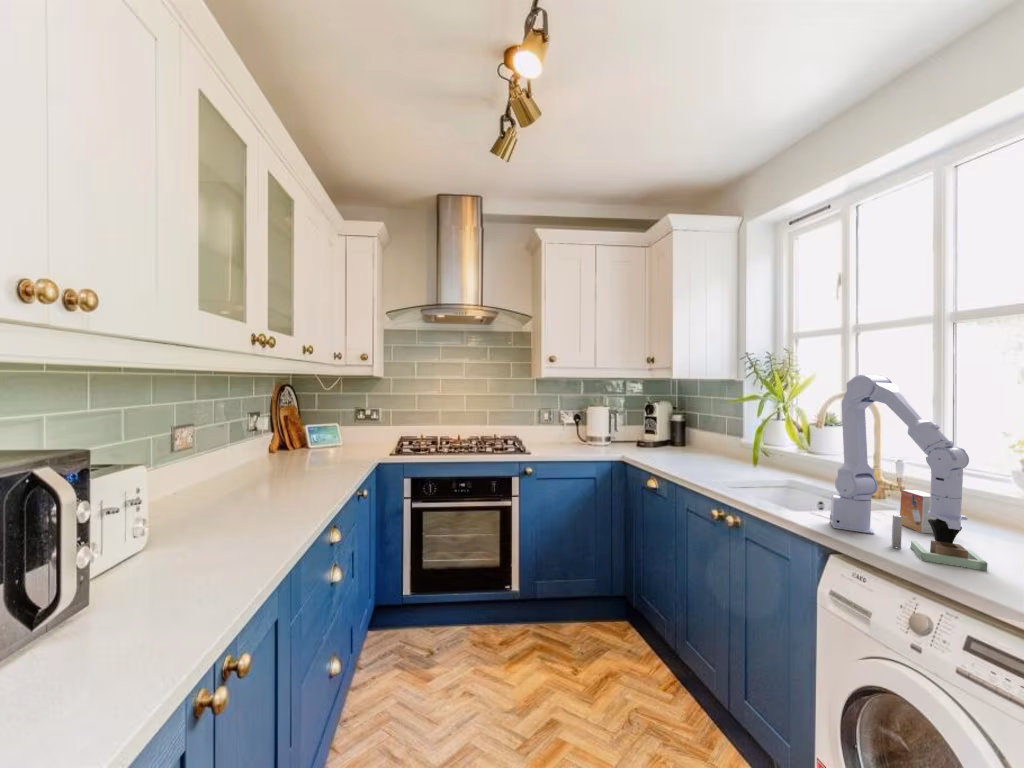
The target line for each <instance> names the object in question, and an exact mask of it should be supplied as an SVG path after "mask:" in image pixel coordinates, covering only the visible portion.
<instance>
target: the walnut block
mask: <svg viewBox="0 0 1024 768" xmlns="http://www.w3.org/2000/svg"><path fill="white" fill-rule="evenodd" d="M929 548H930V549H929V553H935V554H942V555H948V556H954V557H961V558H967V559H968V551H967V550H966V549H967V548H964V546H963V545H961V544H960V543H954V542H953V543H947V542H940V541H935V540H932V539H931V540H930V546H929Z"/></svg>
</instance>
